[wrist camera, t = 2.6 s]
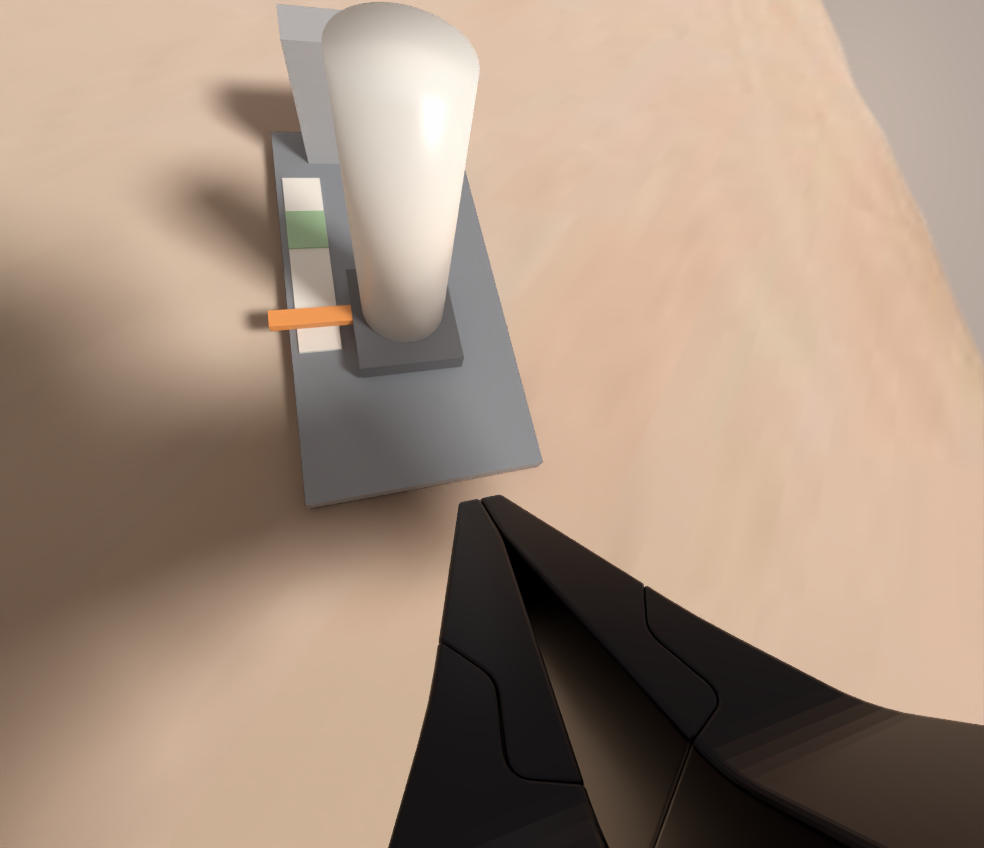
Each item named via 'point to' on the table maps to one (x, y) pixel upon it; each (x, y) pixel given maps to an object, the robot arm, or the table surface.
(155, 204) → the table surface
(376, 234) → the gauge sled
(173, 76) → the table surface
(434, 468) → the gauge board
